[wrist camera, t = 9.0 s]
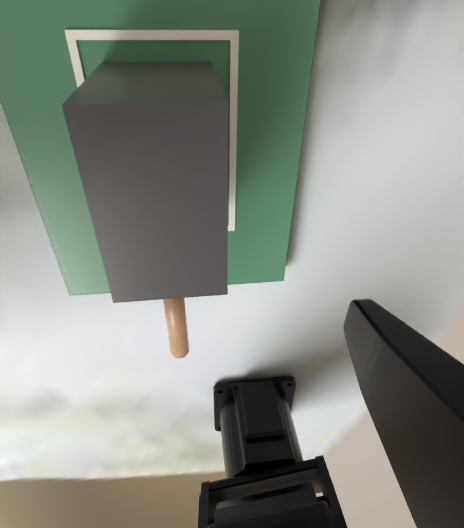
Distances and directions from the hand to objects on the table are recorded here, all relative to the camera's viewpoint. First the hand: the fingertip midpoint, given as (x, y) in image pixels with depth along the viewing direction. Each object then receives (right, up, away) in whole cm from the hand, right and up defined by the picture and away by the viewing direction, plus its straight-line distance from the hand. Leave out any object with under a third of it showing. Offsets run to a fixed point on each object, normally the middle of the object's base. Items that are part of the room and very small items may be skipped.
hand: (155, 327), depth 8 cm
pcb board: (-1, +7, +8) cm, 11 cm away
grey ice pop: (-1, +5, +9) cm, 10 cm away
